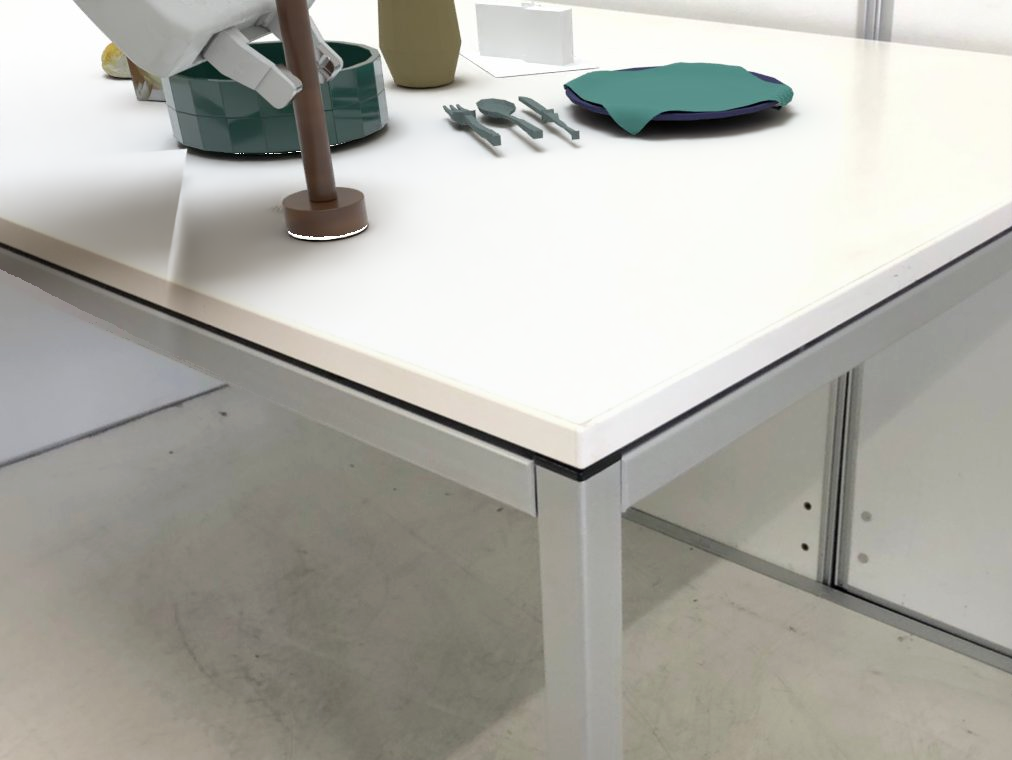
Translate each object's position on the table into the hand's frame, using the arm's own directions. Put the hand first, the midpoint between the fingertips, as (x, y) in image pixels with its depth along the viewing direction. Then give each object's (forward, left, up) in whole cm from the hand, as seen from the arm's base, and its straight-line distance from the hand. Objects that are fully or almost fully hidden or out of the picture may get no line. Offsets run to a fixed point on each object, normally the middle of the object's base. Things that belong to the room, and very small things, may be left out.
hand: (314, 86), depth 68 cm
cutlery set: (+26, +23, -9) cm, 36 cm away
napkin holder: (+23, +51, -9) cm, 57 cm away
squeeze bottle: (+11, +43, -9) cm, 46 cm away
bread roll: (-16, +59, -9) cm, 62 cm away
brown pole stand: (-1, 0, -9) cm, 9 cm away
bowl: (-3, +27, -9) cm, 29 cm away
